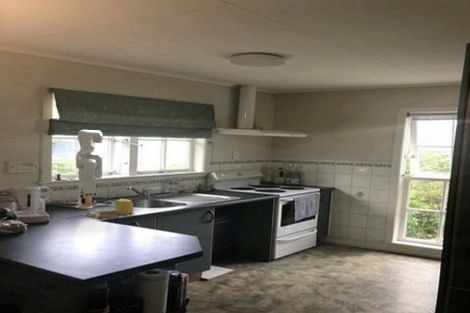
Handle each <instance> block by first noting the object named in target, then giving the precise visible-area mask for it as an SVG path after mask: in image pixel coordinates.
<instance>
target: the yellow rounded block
mask: <svg viewBox="0 0 470 313" xmlns="http://www.w3.org/2000/svg"><path fill="white" fill-rule="evenodd" d="M115 210H119V215H123V214H129V213H131V214H133V213H134V203H133V201H132V200H131V199H126V198H119V199H118V200H116V201H115ZM132 212H133V213H132ZM129 215H130V214H129Z"/></svg>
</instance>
